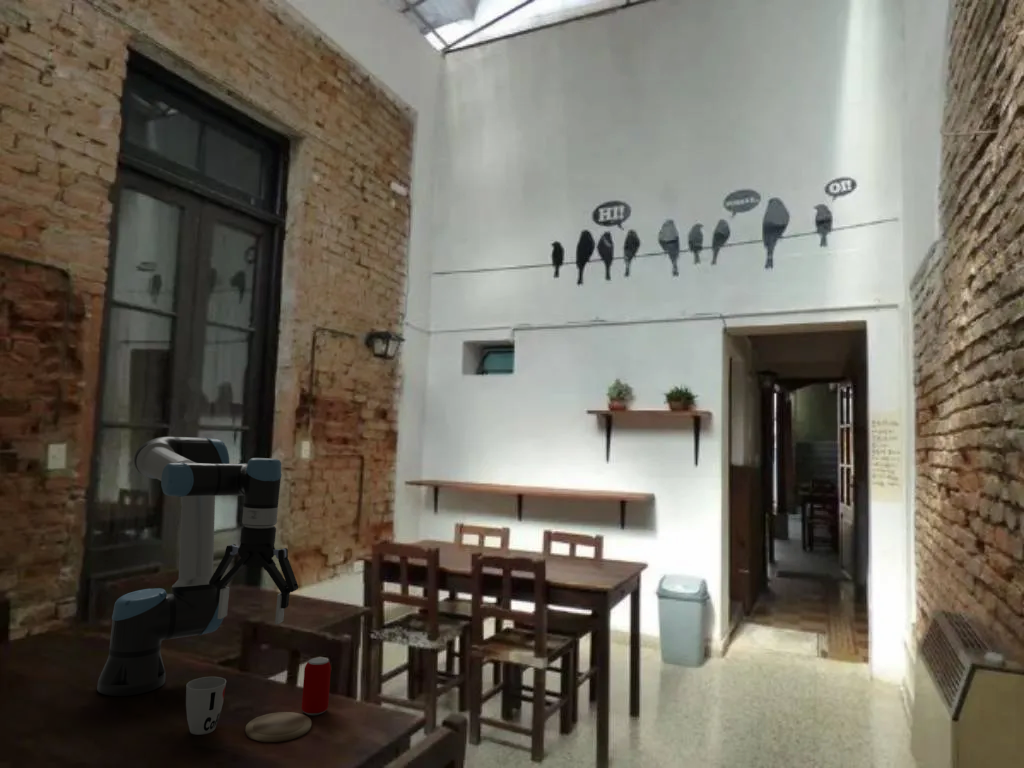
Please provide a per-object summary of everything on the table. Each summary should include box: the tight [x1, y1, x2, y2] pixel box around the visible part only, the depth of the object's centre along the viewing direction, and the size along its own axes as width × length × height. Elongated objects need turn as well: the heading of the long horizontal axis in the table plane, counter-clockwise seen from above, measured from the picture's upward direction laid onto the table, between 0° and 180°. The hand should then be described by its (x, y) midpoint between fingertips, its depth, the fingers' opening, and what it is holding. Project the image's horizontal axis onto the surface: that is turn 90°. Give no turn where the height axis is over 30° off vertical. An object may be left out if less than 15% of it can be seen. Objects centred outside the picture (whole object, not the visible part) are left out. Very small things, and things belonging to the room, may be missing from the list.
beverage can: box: [301, 657, 332, 716], centre depth 158 cm, size 6×6×12 cm
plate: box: [244, 711, 312, 743], centre depth 148 cm, size 14×14×1 cm
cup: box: [185, 676, 227, 736], centre depth 146 cm, size 8×8×10 cm
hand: (250, 620), depth 150 cm, fingers open, 13 cm apart
